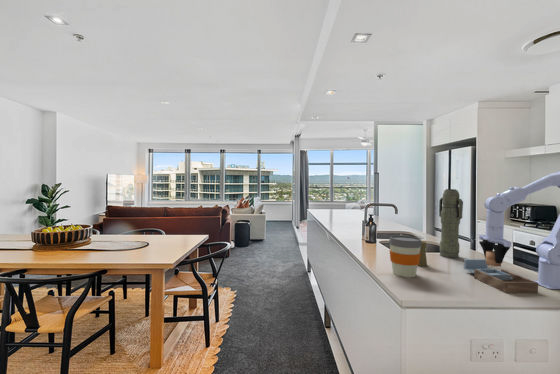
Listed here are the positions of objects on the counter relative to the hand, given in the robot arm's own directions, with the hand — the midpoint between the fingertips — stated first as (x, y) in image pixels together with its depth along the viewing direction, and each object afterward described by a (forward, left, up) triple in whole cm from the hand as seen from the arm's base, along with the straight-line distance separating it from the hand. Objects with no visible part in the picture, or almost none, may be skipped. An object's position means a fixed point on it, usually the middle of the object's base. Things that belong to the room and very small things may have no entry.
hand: (493, 261), depth 119 cm
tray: (0, -3, -6) cm, 7 cm away
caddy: (0, +6, -8) cm, 9 cm away
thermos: (-6, -37, -8) cm, 39 cm away
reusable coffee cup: (+32, -7, -8) cm, 34 cm away
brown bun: (0, 0, -1) cm, 1 cm away
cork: (+18, -21, -8) cm, 29 cm away
